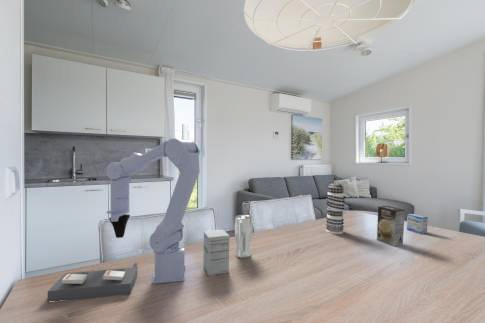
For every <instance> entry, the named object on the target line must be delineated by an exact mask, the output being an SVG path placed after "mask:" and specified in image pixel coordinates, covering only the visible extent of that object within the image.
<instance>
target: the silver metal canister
mask: <svg viewBox="0 0 485 323" xmlns="http://www.w3.org/2000/svg"><path fill="white" fill-rule="evenodd" d="M234 218H235V219H234V236H235V237H234V238H235V243H236V247H235V249H236V250H235V256H236V257H237V258H240V259H247V258H249V257H251V255H252V252H251V241H252V235H253V216H251V215H249V214H248V215H247V214H239V215H235V217H234Z"/></svg>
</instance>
